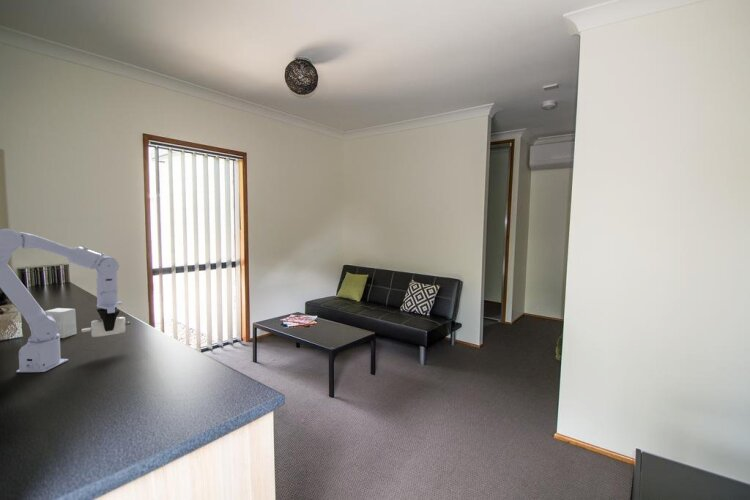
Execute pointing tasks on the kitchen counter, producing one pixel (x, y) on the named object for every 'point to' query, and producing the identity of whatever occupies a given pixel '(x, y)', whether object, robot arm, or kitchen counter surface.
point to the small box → (64, 320)
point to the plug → (99, 330)
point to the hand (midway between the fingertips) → (108, 329)
